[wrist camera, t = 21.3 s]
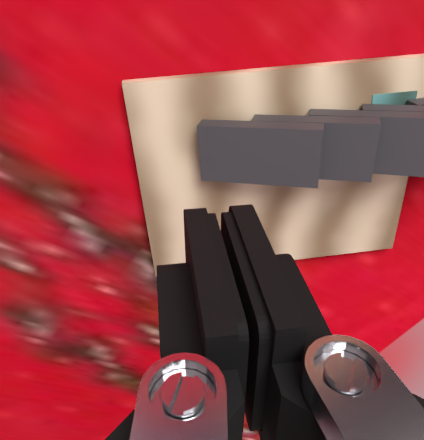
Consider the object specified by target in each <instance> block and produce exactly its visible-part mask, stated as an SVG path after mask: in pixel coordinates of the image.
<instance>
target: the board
mask: <svg viewBox="0 0 424 440" xmlns="http://www.w3.org/2000/svg"><path fill="white" fill-rule="evenodd" d="M122 88H123V93H124V99H125V105H126V110H127V116H128V122H129V128H130V133H131V139H132V145H133V150H134V156H135V162H136V167H137V173H138V179H139V185H140V190H141V196H142V202H143V207H144V213H145V219H146V224H147V230H148V236H149V242H150V247H151V253H152V259H153V264H154V270H155V276H156V277H157V268H156V267H157V265H167V264H178V263H186V258H185V237H184V214H183V212H184V209H195V208H206V209H207V213H215V214H216V217H217V220H218V224H219V227H220V231H221V213H222V212H228V211H229V207H230V206H235V205H248V204H252V205H253V206H254V209H255V211H256V213H257V215H258V217H259V220H260V222H261V224H262V226H263V228H264V231H265V233H266V235H267V237H268V239H269V242H270V244H271V246H272V248H273V250H274V253H275V255H277V254H290V255H291V256H292V257H293V259H294V260H298V259H306V258H314V257H323V256H331V255H339V254H348V253H356V252H364V251H373V250H381V249H389V248H392V247H393V243H394V239H395V234H396V230H397V225H398V221H399V216H400V212H401V208H402V203H403V199H404V194H405V190H406V185H407V181H408V177H409V176H398V175H383V174H372V180H371V182H355V181H338V180H322V179H319V181H318V188H304V187H289V186H274V185H259V184H244V183H229V182H214V181H201V173H200V160H199V147H198V134H197V125H198V124H199V123H200V121H201V120H202V119H207V120H240V121H252V119H253V117H254V115H255V114H260V115H302V116H309V112H310V109H337V110H362V104H387V105H406V102H407V100H411V99H418V98H424V54H414V55H402V56H391V57H380V58H368V59H357V60H346V61H334V62H323V63H312V64H300V65H289V66H278V67H266V68H255V69H244V70H232V71H221V72H210V73H199V74H187V75H176V76H165V77H153V78H142V79H131V80H123V81H122Z"/></svg>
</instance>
